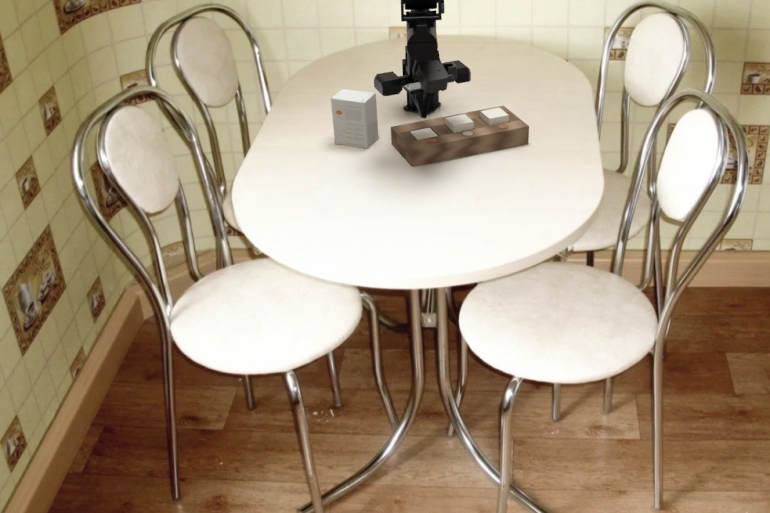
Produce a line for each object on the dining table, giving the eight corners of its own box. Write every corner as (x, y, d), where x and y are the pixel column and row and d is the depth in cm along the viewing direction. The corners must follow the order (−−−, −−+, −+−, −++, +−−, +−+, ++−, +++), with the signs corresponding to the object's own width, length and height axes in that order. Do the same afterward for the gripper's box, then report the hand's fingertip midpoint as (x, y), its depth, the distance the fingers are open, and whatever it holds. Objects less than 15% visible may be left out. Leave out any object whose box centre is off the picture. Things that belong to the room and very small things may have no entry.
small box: (379, 138, 204) (376, 92, 199) (368, 149, 200) (365, 102, 195) (345, 133, 207) (342, 88, 202) (334, 144, 203) (330, 97, 198)
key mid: (453, 139, 197) (453, 125, 195) (445, 131, 200) (445, 117, 199) (473, 135, 198) (473, 121, 196) (464, 127, 201) (464, 114, 200)
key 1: (418, 153, 195) (417, 139, 194) (410, 144, 199) (409, 131, 197) (437, 149, 197) (437, 135, 195) (429, 140, 200) (429, 127, 199)
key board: (412, 167, 192) (411, 148, 190) (391, 144, 202) (390, 125, 200) (528, 143, 199) (529, 125, 197) (502, 122, 209) (503, 104, 207)
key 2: (489, 132, 199) (489, 118, 197) (480, 124, 202) (480, 111, 201) (508, 128, 200) (508, 115, 199) (499, 120, 204) (499, 107, 202)
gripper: (391, 64, 177) (394, 141, 185) (482, 48, 182) (482, 124, 190) (371, 46, 186) (375, 120, 194) (459, 31, 191) (459, 104, 199)
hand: (423, 117), depth 194 cm, fingers closed
